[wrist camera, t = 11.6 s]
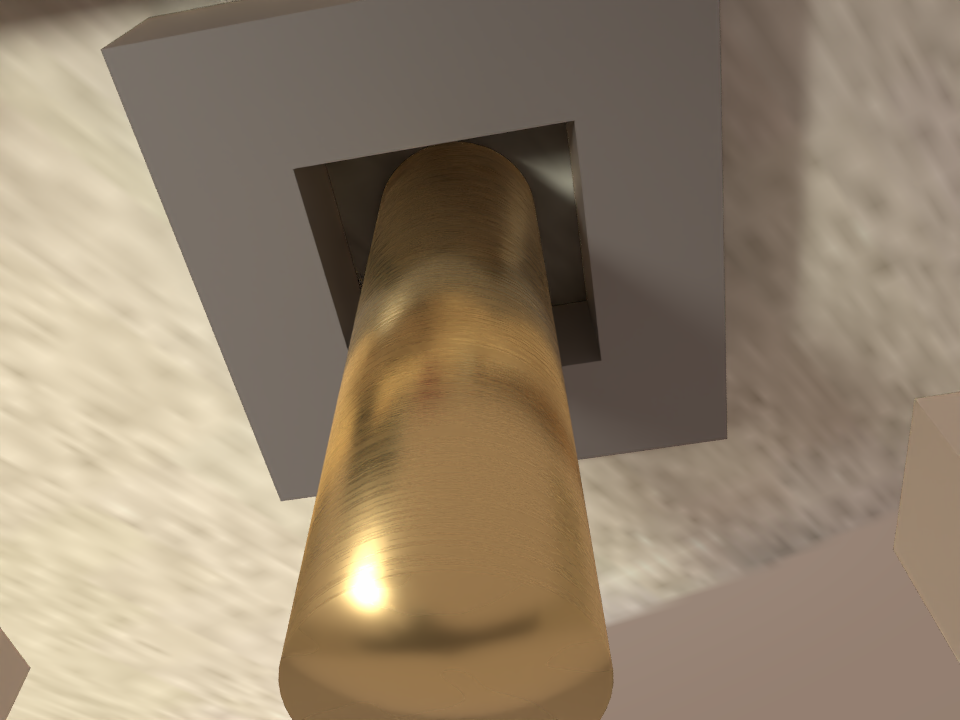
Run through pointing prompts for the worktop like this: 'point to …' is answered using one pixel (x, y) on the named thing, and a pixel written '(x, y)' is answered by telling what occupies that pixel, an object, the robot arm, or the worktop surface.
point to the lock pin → (450, 477)
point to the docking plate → (428, 121)
